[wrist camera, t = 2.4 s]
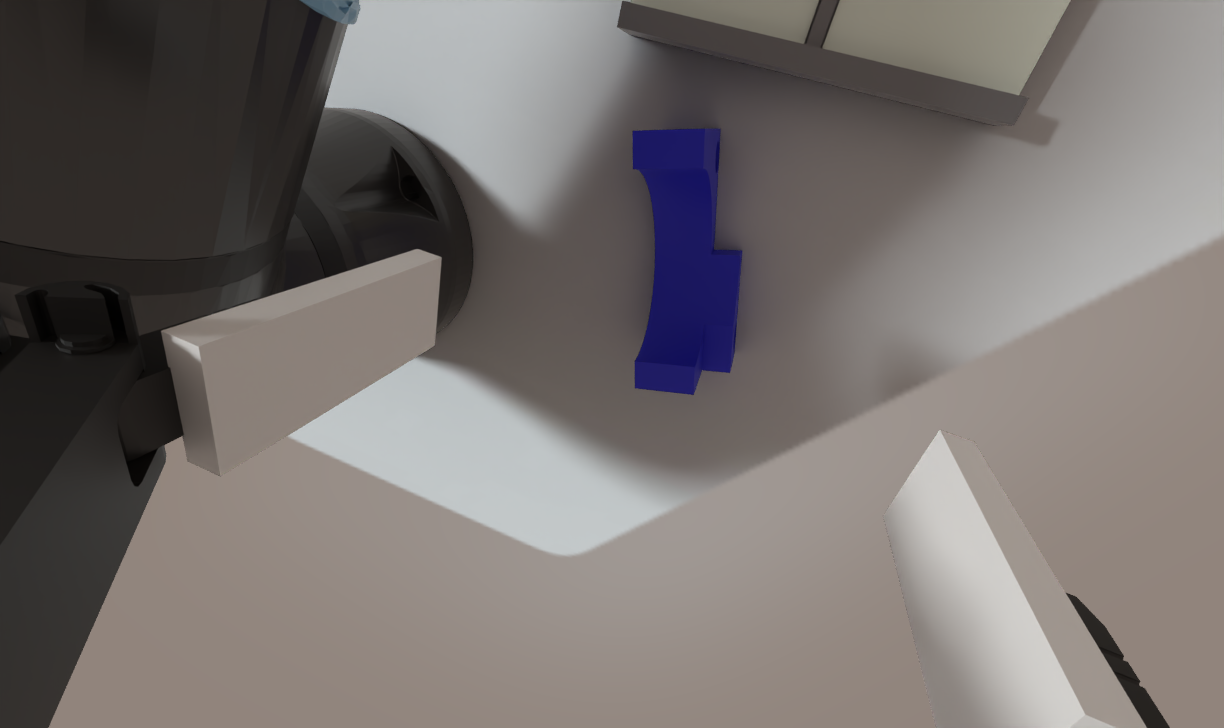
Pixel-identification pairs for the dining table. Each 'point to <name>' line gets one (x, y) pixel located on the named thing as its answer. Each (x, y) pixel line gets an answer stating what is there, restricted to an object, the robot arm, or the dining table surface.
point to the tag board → (872, 44)
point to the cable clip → (686, 263)
